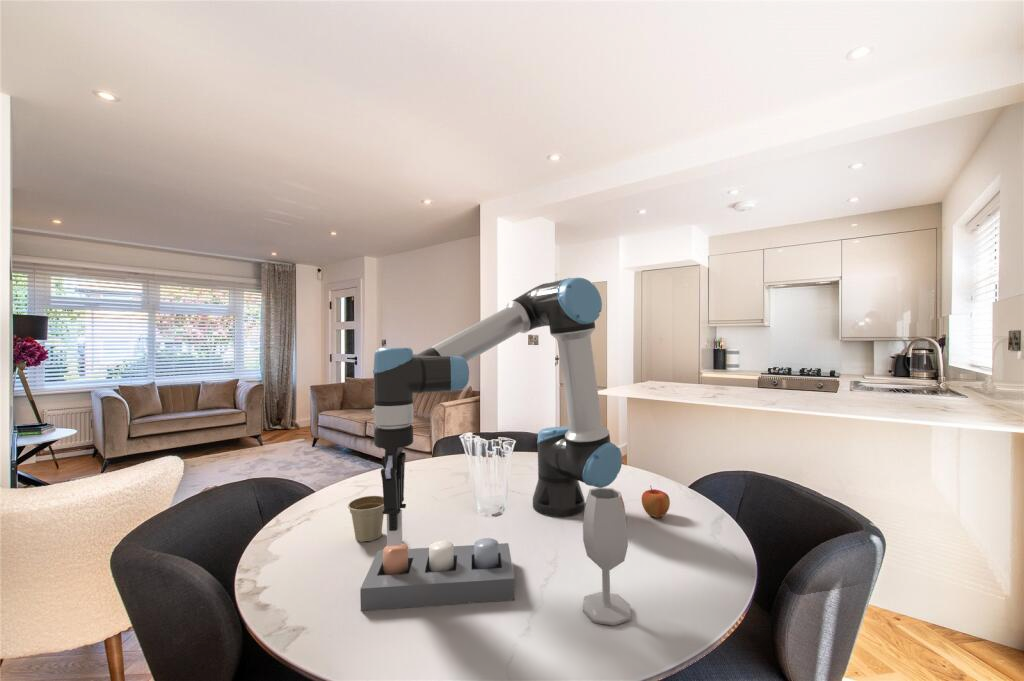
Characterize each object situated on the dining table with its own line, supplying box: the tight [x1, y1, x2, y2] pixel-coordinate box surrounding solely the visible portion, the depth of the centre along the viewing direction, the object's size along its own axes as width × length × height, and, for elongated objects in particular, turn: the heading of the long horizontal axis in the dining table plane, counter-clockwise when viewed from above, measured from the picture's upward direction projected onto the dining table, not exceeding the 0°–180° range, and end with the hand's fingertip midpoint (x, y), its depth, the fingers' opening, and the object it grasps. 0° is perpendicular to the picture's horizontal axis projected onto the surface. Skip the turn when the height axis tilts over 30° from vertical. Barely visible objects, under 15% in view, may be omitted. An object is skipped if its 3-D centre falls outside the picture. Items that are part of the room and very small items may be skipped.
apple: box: [641, 485, 671, 519], centre depth 115 cm, size 7×7×8 cm
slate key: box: [473, 537, 499, 569], centre depth 85 cm, size 5×5×4 cm
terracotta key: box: [383, 542, 409, 575], centre depth 83 cm, size 5×5×4 cm
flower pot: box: [347, 495, 385, 543], centre depth 105 cm, size 9×9×9 cm
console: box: [360, 542, 516, 612], centre depth 84 cm, size 28×14×4 cm, turn 95°
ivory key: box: [428, 540, 454, 572], centre depth 84 cm, size 5×5×4 cm
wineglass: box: [581, 487, 632, 626], centre depth 75 cm, size 9×9×21 cm
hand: (394, 544), depth 83 cm, fingers closed
